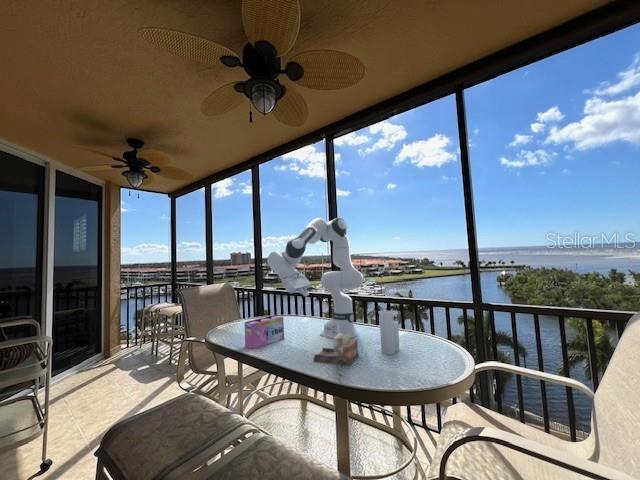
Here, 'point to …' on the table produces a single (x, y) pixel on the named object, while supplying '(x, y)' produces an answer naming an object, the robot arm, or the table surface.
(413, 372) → the table surface
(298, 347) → the table surface
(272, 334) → the gum box
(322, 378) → the table surface
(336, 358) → the track
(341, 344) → the cream rectangular block
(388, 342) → the vase
